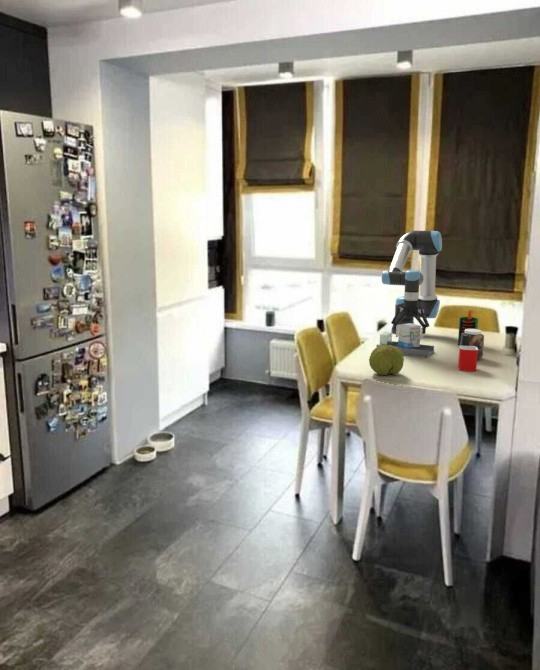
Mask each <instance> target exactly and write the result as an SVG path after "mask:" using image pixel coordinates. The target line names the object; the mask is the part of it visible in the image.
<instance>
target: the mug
mask: <svg viewBox="0 0 540 670" xmlns="http://www.w3.org/2000/svg"><path fill="white" fill-rule="evenodd" d="M458 348H459V350H458V352H459V353H458V364H457V367H458V369H459V371H461V370H463V371H462V372H476V371H477V364H478V363H477V362H478V361H477V353H478V348H477V347H475V346H460V345H459V346H458Z"/></svg>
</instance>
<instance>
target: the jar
mask: <svg viewBox="0 0 540 670" xmlns="http://www.w3.org/2000/svg"><path fill="white" fill-rule="evenodd" d="M484 345H485V335H484V334H483V333H482V330H481V329H465V332H464V333H462V334H461V341H460V344H459V346H475V347H477V348H478V353H477V362H479V361H482V360H483V356H484Z"/></svg>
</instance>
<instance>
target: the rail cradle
mask: <svg viewBox="0 0 540 670" xmlns="http://www.w3.org/2000/svg"><path fill="white" fill-rule="evenodd" d="M383 345H386V346H387V345H390V346H394V347H397V348H398V349H399V350H401V352H402V354H403V356H407V357H408V356H410V357H417V358H423V359H428V358H429V357H430V356H431V355H433V354H434V352H435V346H434V345H429V344H421V343H420V347H412V348H406V347H403V346H400V345H398V341H395V340H394V341H393V333H392V332H391V331H384V332H382V333H380V334H379V344H376V345H375V346H376V347H375V348H377V347H379V346H383Z"/></svg>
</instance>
